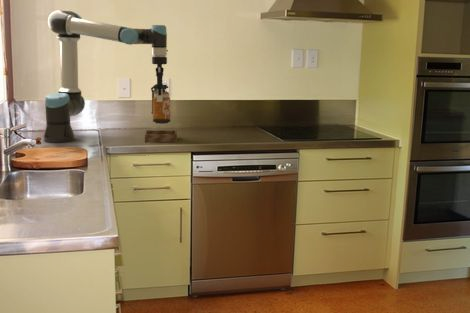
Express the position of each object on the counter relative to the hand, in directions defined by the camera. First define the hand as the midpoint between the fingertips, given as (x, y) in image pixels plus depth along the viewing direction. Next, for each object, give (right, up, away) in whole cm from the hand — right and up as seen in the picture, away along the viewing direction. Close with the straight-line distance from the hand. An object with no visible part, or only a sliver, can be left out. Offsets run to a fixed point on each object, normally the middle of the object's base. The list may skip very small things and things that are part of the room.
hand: (160, 100), depth 280 cm
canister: (0, -11, +3) cm, 12 cm away
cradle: (0, -20, +4) cm, 21 cm away
